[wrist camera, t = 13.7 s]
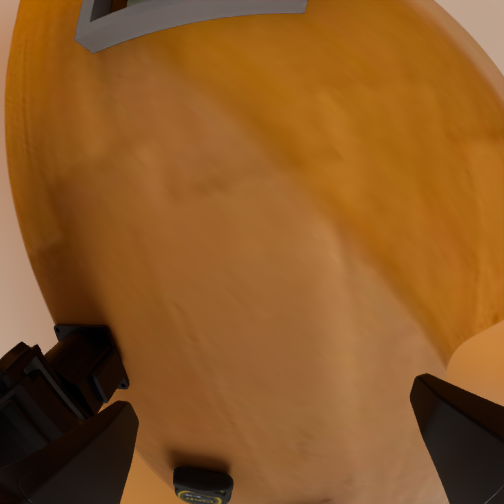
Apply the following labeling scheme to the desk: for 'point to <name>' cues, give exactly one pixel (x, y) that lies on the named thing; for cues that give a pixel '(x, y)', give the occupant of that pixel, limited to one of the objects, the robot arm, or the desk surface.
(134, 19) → the charging station
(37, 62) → the desk surface
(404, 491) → the desk surface
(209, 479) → the tape measure
